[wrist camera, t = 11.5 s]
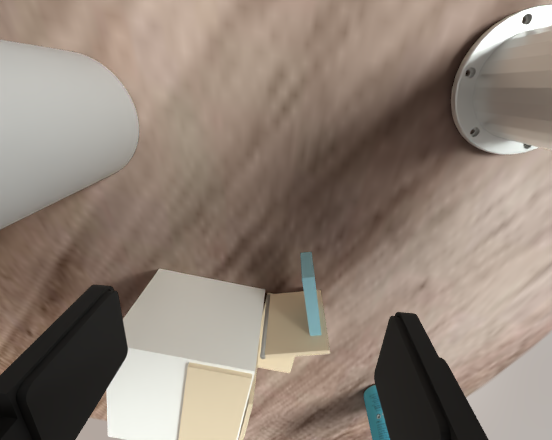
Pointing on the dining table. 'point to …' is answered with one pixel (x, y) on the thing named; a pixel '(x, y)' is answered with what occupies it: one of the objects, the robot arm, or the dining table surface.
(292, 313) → the door
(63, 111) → the cylinder vase
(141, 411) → the carton
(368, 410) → the tube
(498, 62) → the robot arm
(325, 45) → the dining table surface
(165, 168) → the dining table surface
